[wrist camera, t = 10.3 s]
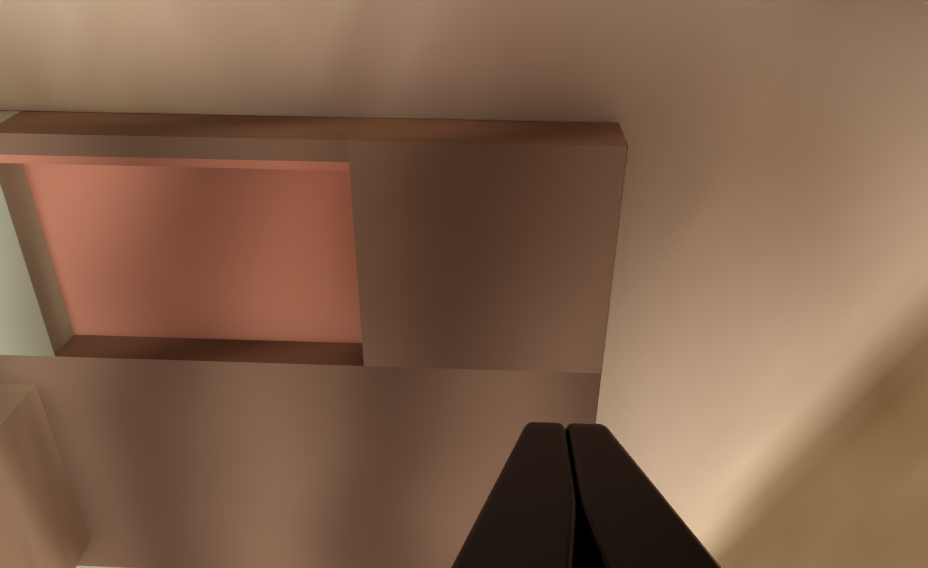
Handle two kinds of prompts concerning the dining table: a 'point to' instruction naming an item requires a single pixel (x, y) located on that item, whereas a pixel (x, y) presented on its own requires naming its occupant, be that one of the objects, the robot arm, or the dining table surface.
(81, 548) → the maple block
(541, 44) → the dining table surface
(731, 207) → the dining table surface
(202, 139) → the trap deck
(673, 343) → the dining table surface
